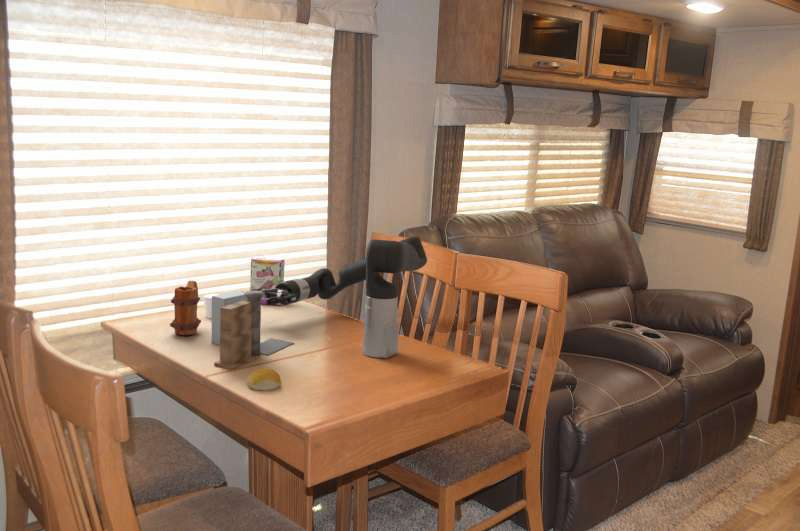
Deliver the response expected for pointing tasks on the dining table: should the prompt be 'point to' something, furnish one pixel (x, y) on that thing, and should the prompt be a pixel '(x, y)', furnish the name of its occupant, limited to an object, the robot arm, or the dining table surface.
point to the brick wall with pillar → (240, 331)
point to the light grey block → (217, 303)
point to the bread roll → (264, 380)
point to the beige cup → (208, 304)
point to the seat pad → (273, 346)
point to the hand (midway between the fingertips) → (257, 299)
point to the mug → (186, 309)
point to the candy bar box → (266, 274)
